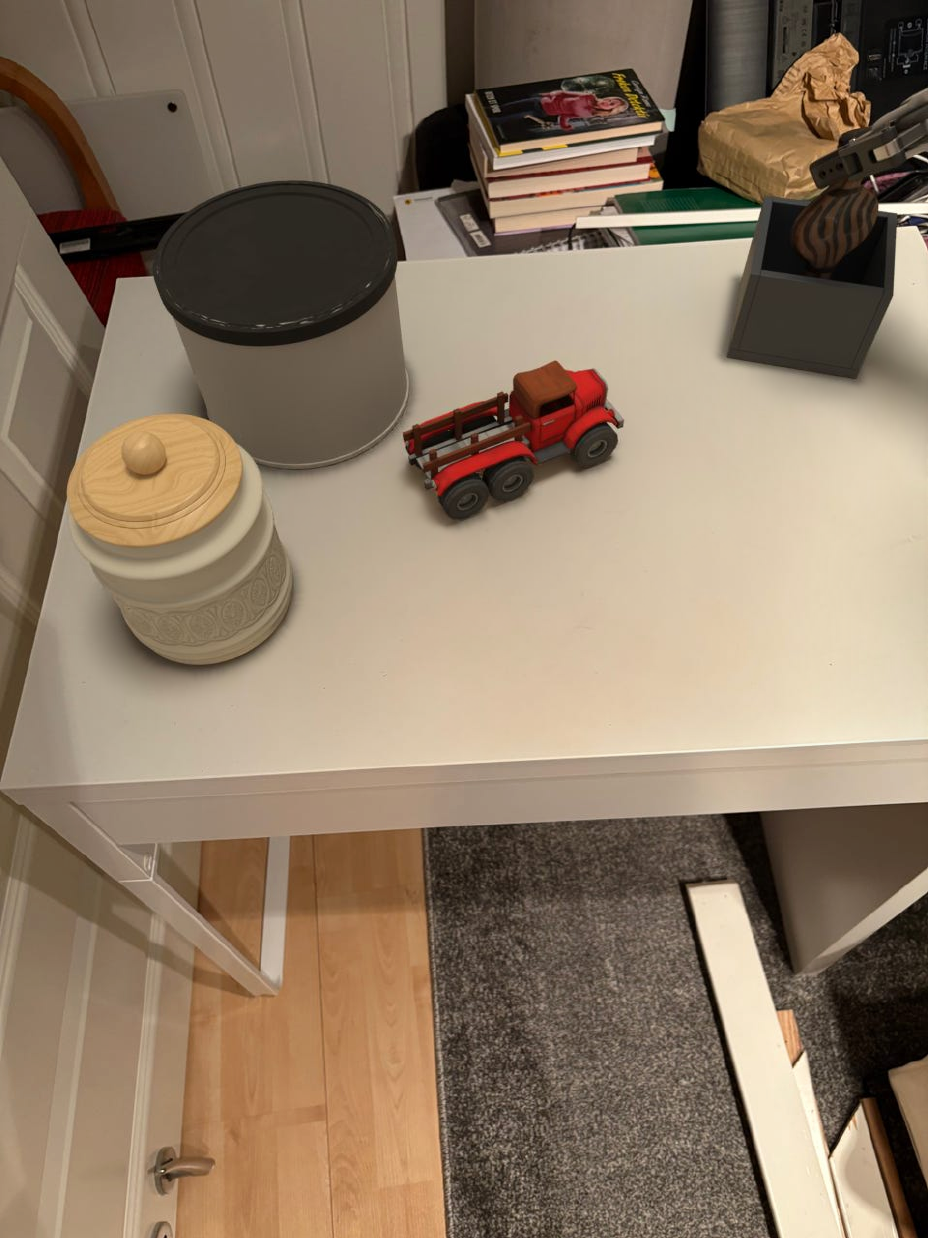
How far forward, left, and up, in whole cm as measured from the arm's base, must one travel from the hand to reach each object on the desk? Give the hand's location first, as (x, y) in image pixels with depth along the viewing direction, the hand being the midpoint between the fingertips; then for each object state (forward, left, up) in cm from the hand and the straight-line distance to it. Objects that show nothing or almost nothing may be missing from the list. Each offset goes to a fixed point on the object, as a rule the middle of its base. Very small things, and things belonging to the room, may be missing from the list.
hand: (829, 165), depth 72 cm
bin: (-2, +1, -15) cm, 15 cm away
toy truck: (+20, +24, -15) cm, 35 cm away
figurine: (-2, +1, -14) cm, 14 cm away
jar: (+39, +44, -15) cm, 61 cm away
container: (+40, +21, -15) cm, 48 cm away
